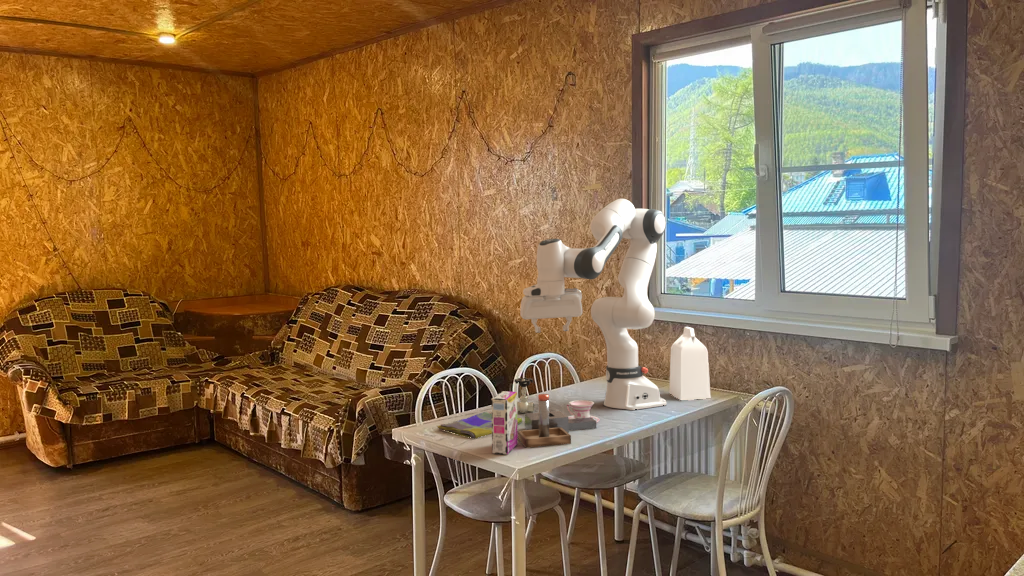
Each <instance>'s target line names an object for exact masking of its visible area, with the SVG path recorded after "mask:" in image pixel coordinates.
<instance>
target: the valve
mask: <svg viewBox="0 0 1024 576" xmlns="http://www.w3.org/2000/svg"><path fill="white" fill-rule="evenodd" d="M513 381H514V383H515V384H516V385H517V384H519V386H520V387H521V388H522V389H521V390H520V391H521V396H519V401H517V413H522V414H525V413H535V402H534V401H529V396H527V387H528V386H530V384H531V383H534V379H533V378H531V377H529V378H527V377H523V378H521V377H518V378H514V379H513Z"/></svg>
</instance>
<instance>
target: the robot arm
mask: <svg viewBox="0 0 1024 576" xmlns="http://www.w3.org/2000/svg"><path fill="white" fill-rule="evenodd" d="M666 228H667V221H666V217H665V215H664V213H663V212H662V211H661V210H659V209H654V208H650V209H648V208H635V206H634V204H633V203H632V202H631V201H630V200H628V199H626V198H617V199H615V200H613V201H612V202H610V203H608V204H607V205H606V206H605V205H604V207H603V208H602V209H601V210H600V211H598V213H596V214H595V215H594V217H593V218H592V220H591V222H590V232H591V235H592V236H593V238H594V239H595V241H597V243H596V244H595V245H594V246H593V247H592V246H591V247H586V248H575V247H574V248H573V247H570V246H567V245H566V244H564V243H563V242H562V240H561V239H560V238H549V239H548V238H547V239H543V240H542V241H540V242H538V245H537V250H536V269H537V273H538V274H537V279H536V282H537V283H536V284H533V285H530V286H528V287H525V288H523V291H522V294H523V295H524V296H523V297H522V299H521V301H520V310H519V311H520V312H519V313H520V317H521V318H522V319H523V320H531V324H532V325H533V326H534V332H535V333H536V334H537V333H539V334H540V333H541V332H542V330H541V329H542V328H541V326H538V325H537V323H538V320H541V319H555V318H556V319H557V318H565V320H566V321H565V322H566V323H565V324H564V325H562V331H563V332H569V331H570V324H571V323H572V321H573V318H575V317H577V318H578V317H581V316H582V315H583V304H582V299H583V293H582V291H581V290H580V289H579V288H576V287H575V288H573V287H572V288H565V278H572V279H573V278H575V279H587V280H596V279H597V278H598V277H599V276H600V275H601V274H602V272H603V270H604V267H605V265H606V263H607V262H608V261H609V259H610V258H611V256H612V254H613V253H614V252H615V251H616V249H617V248H618V246H619V245H620V243H621V241H622V239H627V240H630V241H629V242H630V245H629V246H628V249H627V250H626V253H625V255H624V257H623V258H624V259H623V260H622V264H621V266H620V270H619V273H618V275H617V280H618V283H619V285H620V287H622V288H623V294H622V296H621V297H620V296H603V297H599V298H596V299H595V300H594V301H593V302H592V304H591V307H590V316H591V319H592V320H593V322H594V323H595V324H596V325H597V326H598V327H599V329H600V331H601V332H602V335H603V338H604V341H605V345H606V346H605V347H606V358H607V359H606V360H607V365H606V370H605V379H606V390H605V397H604V402H603V405H604V406H605V407H607V408H613V409H621V410H622V409H623V410H629V411H635V409H637V410H642V409H650V408H655V407H656V408H657V407H664V406H667V404H668V403H667V400H666V399H664V398H662V397H661V395H660V389H659V387H658V386H657V385H656V384H655V383H654V382H653V381H651V380H650V379H649V378H647V377H646V376H644V374H648V372H649V369H648V368H647V367H645V366H644V367H642V366H641V365H639V346H638V344H637V342H636V340H634V339H633V338H632V337H631V336H630V334H629V332H628V329H629V330H642V329H646V328H649V327H651V326H652V324H653V322H654V320H655V313H656V311H655V307H654V305H653V304H652V303H651V302H650V300H649V297H648V287H649V282H650V279H651V276H652V272H653V270H654V266H655V262H656V257H657V251H658V244H657V243H658V242H659V241H660V239H661V237H662V236H663V235H664V232H665V231H666ZM663 405H664V406H663Z"/></svg>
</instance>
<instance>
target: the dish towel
mask: <svg viewBox="0 0 1024 576" xmlns="http://www.w3.org/2000/svg"><path fill="white" fill-rule="evenodd" d="M517 422H518V425H520V424H521V423H523V418H521V417H517ZM436 428H437V429H438V430H440V429H441V430H440V431H442V430H445V431H449V432H452V433H455V434H454V435H456V434H458V435H457V436H460V435H461V437H463V436H465V437H464V438H467V437H469V438H468V439H470V437H471V438H474V439H475V438H476V439H479V438H482V437H481V436H483V437H486V436H488V435H489V436H490V435H492V413H489V412H487V411H483V412H480V413H476V414H474V415H472V416H469V417H467V418H462V419H459V420H456V421H455V420H454V421H453V422H448V423H443V424H440V425H437V427H436ZM445 431H444V432H445ZM449 432H448V433H449ZM452 433H451V434H452ZM485 435H486V436H485ZM478 437H479V438H478Z"/></svg>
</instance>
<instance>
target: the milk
mask: <svg viewBox="0 0 1024 576" xmlns="http://www.w3.org/2000/svg"><path fill="white" fill-rule="evenodd" d="M708 351H709V350H708V349H707V347H706V345H705V344H704V343H702V342H701V340H700V339H698V338H697V337H696V334H695V329H694V328H693V327H689V326H684V328H683V333H682V334H681V335H680V336H679V337H678V338H677V339H676V340H675V341H674V342H673V343H672V345H671V347H670V357H669V358H670V363H669V390H668V391H669V393H670V394H672V395H673V396H675V397H676V398H675V397H674V398H675V399H677V398H678V399H680V400H688V401H695V400H694V399H703V400H707V399H706V398H711V384H710V383H711V379H710V367H709V366H710V364H709V352H708ZM669 393H668V394H669ZM670 394H669V395H670ZM672 395H671V396H672ZM673 396H672V397H673ZM678 399H677V400H678ZM711 399H712V398H711ZM680 400H679V401H680Z"/></svg>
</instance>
